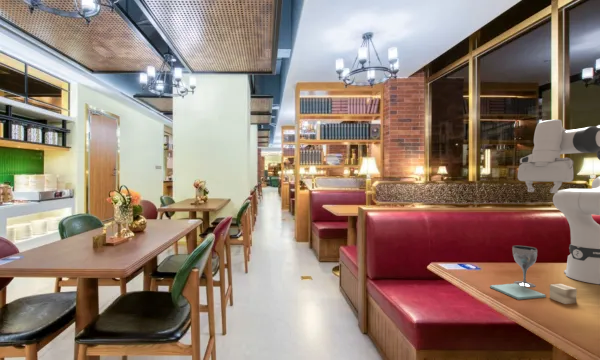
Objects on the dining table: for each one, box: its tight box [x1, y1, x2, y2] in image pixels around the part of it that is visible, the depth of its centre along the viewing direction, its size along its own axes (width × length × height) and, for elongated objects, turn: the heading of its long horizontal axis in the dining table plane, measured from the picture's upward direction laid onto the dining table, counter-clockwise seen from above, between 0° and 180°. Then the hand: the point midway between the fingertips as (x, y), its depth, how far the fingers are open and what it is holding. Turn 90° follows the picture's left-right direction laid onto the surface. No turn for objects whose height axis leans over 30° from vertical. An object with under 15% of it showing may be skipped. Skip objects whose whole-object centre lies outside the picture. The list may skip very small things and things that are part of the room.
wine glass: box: [512, 245, 538, 288], centre depth 118 cm, size 8×8×15 cm
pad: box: [489, 283, 547, 301], centre depth 110 cm, size 12×12×1 cm
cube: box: [549, 283, 578, 305], centre depth 102 cm, size 5×5×5 cm
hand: (541, 192), depth 118 cm, fingers open, 8 cm apart
